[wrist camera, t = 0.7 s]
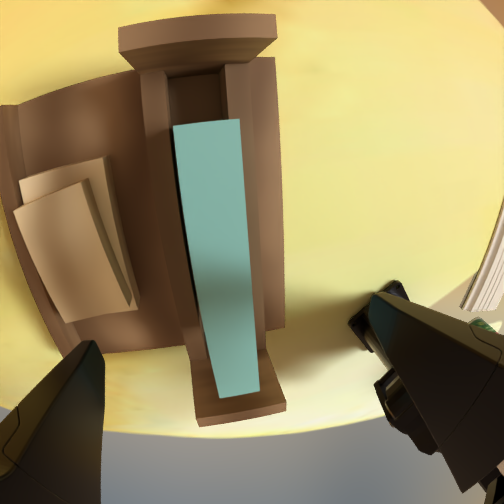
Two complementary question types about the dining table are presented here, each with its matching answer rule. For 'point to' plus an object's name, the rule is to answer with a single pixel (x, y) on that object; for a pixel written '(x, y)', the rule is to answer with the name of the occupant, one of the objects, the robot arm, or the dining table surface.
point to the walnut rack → (165, 185)
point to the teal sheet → (219, 248)
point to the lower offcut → (105, 199)
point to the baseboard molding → (488, 275)
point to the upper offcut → (73, 252)
